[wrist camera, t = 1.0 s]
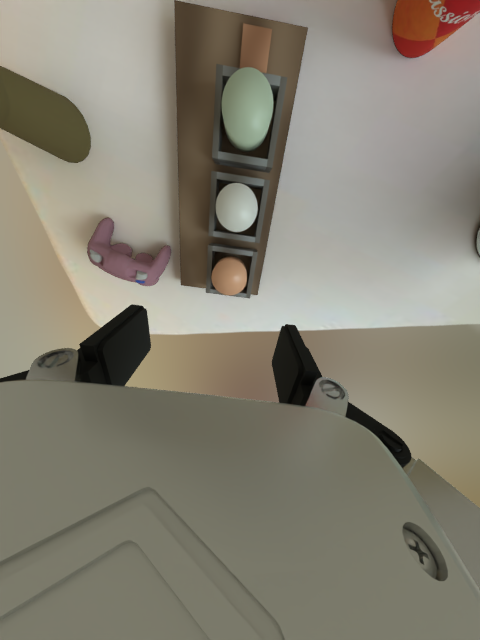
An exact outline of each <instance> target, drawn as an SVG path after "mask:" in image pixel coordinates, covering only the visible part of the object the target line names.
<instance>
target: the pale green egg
mask: <svg viewBox="0 0 480 640" xmlns="http://www.w3.org/2000/svg"><path fill="white" fill-rule="evenodd" d="M272 113H273V94H272V90H271V87H270V84H269V82H268V80H267V78H266V77H265V76H264V75H263V74H262V73H261V72H260V71H259V70H257V69H255V68H252V67H245V68H241V69H239V70H237V71H236V72H235V73H234V74H233V75H232V76H231V77H230V78H229V80H228V81H227V83H226V86H225V88H224V91H223V96H222V115H223V120H224V125H225V130H226V134H227V137H228V139H229V141H230V142H231V144H232V145H233V146H234V147H235V148H236V149H238V150H239V151H242V152H250V151H253V150H255V149H257V148H258V147H259V146H260V145H261V144H262V143H263V141H264V139H265V137H266V135H267V132H268V128H269V125H270V121H271V117H272Z"/></svg>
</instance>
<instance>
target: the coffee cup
mask: <svg viewBox="0 0 480 640" xmlns="http://www.w3.org/2000/svg"><path fill="white" fill-rule="evenodd" d="M479 12H480V0H397V3H396V7H395V10H394V15H393V23H392V33H393V40H394V43H395V46H396V48H397V50H398V51H399V52H400V53H401V54H402V55H403V56H405V57H409V58H416V57H419V56H422V55H424V54H426V53H427V52H429V51H430V50H432V49H433V48H435V47H436V46H437V45H439V44H440V43H441V42H443V41H444V40H445V39H446V38H448V37H449V36H450V35H452V34H453V33H454V32H455V31H457V30H458V29H459V28H460V27H462V26H463V25H464V24H465V23H467V22H468V21H469V20H470V19H472V18H473V17H474V16H475V15H477V14H478V13H479Z"/></svg>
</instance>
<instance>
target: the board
mask: <svg viewBox="0 0 480 640" xmlns="http://www.w3.org/2000/svg"><path fill="white" fill-rule="evenodd" d="M174 2H175V46H176V90H177V134H178V178H179V222H180V266H181V285H184V286H191V287H199V288H206V293H213V294H221V295H224V294H222V293H220V292H219V291H217V290H216V289H215V287H214V286H213V283H212V279H211V276H212V271H213V269H214V268H215V266H216V264H217V263H218V261H219V260H220V259H222V258H223V257H226V256H234V257H237V258H239V259H240V260H241V261H242V262H243V263H244V264H245V267H246V271H247V282H246V285H245V287H244V289H243V290H242V291H241V292H239V293H238V294H235V295H229V296H236V297H244V298H250V295H251V294H252V295H257V294H258V289H259V284H260V278H261V273H262V268H263V262H264V257H265V252H266V247H267V241H268V236H269V231H270V225H271V220H272V215H273V210H274V204H275V199H276V194H277V188H278V183H279V178H280V172H281V167H282V162H283V157H284V151H285V146H286V141H287V135H288V130H289V125H290V120H291V114H292V109H293V104H294V98H295V93H296V88H297V83H298V77H299V72H300V67H301V61H302V56H303V51H304V45H305V40H306V35H307V30H308V28H307V27H302V26H297V25H292V24H287V23H282V22H278V21H273V20H268V19H263V18H258V17H253V16H248V15H244V14H239V13H234V12H229V11H224V10H219V9H215V8H210V7H205V6H200V5H195V4H190V3H185V2H181V1H176V0H174ZM245 67H252V68H255V69H257V70H259V71H260V72H261V73H262V74H263V75H264V76H265V77H266V78H267V80H268V82H269V84H270V87H271V90H272V94H273V113H272V117H271V121H270V125H269V128H268V132H267V135H266V137H265V139H264V141H263V143H262V144H261V145H260V146H259V147H258V148H257V149H255V150H253V151H250V152H242V151H239V150H238V149H236V148H235V147H234V146H233V145H232V144H231V142H230V141H229V139H228V137H227V134H226V130H225V125H224V120H223V115H222V96H223V91H224V88H225V86H226V83H227V81H228V80H229V78H230V77H231V76H232V75H233V74H234V73H235V72H236V71H237V70H239V69H241V68H245ZM232 183H241V184H244V185H246V186H248V187H249V188H250V189H251V190H252V191H253V193H254V195H255V197H256V200H257V205H258V210H257V216H256V218H255V221H254V222H253V224H252V225H251V226H250V227H249V228H248V229H246V230H244V231H241V232H233V231H230V230H228V229H226V228H225V227H224V226H222V224H221V223H220V222H219V220H218V218H217V214H216V200H217V197H218V195H219V193H220V191H221V190H222V189H223V188H224V187H225V186H227V185H229V184H232Z"/></svg>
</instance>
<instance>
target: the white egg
mask: <svg viewBox="0 0 480 640" xmlns="http://www.w3.org/2000/svg"><path fill="white" fill-rule="evenodd" d="M257 210H258V205H257V200H256V197H255V195H254V193H253V191H252V190H251V189H250V188H249V187H248V186H246V185H244V184H241V183H232V184H229V185H227V186H225V187H224V188H223V189H222V190H221V191H220V193H219V195H218V197H217V200H216V214H217V218H218V220H219V222H220V223H221V224H222V226H224V227H225V228H226V229H228V230H230V231H233V232H241V231H244V230H246V229H248V228H249V227H250V226H251V225H252V224H253V222H254V221H255V218H256V216H257Z"/></svg>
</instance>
